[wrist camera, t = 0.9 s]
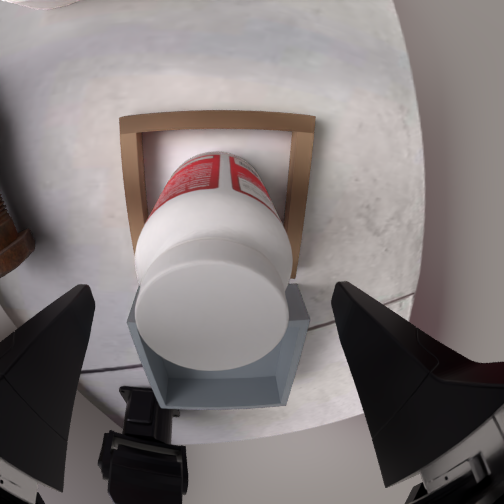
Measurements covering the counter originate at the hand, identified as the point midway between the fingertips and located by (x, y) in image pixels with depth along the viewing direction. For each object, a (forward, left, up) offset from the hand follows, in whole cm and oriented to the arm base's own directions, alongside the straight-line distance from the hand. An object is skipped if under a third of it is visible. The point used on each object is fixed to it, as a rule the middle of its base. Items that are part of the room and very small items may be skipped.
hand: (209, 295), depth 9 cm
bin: (-13, 0, -9) cm, 16 cm away
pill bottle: (0, 0, -10) cm, 10 cm away
